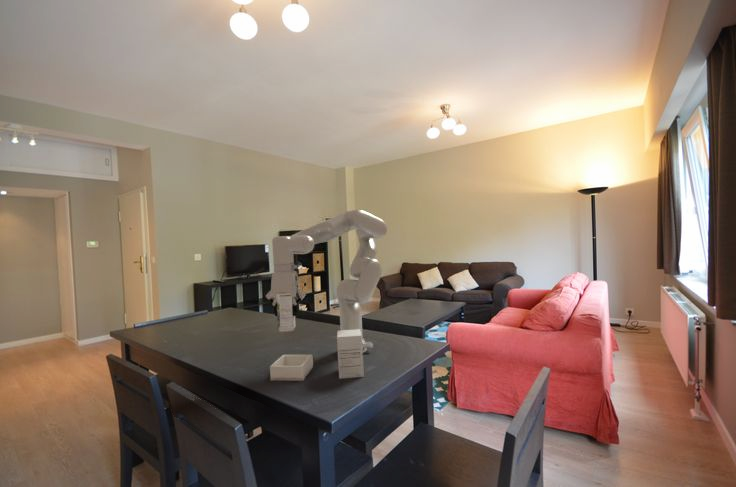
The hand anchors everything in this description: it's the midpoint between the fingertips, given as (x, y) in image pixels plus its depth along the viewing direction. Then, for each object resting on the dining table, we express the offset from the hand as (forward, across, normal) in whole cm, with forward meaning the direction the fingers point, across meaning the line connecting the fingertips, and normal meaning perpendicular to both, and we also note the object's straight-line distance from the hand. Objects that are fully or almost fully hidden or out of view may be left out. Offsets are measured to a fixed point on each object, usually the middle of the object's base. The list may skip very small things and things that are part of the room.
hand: (286, 314), depth 126 cm
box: (+21, -2, +3) cm, 22 cm away
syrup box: (+6, 0, 0) cm, 6 cm away
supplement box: (+22, -24, +1) cm, 33 cm away
